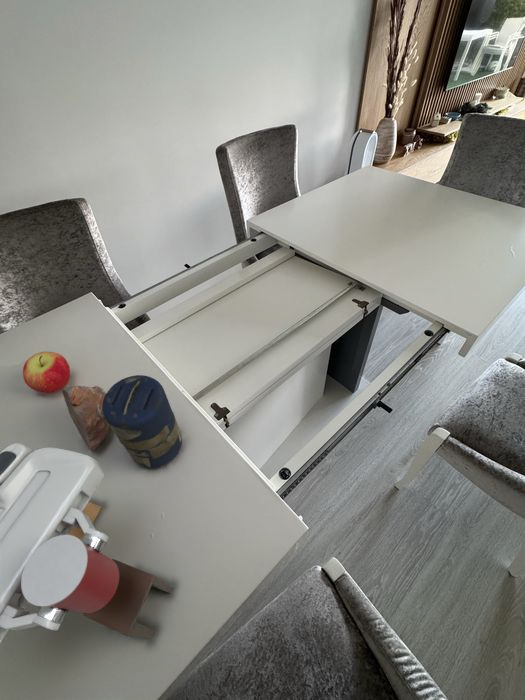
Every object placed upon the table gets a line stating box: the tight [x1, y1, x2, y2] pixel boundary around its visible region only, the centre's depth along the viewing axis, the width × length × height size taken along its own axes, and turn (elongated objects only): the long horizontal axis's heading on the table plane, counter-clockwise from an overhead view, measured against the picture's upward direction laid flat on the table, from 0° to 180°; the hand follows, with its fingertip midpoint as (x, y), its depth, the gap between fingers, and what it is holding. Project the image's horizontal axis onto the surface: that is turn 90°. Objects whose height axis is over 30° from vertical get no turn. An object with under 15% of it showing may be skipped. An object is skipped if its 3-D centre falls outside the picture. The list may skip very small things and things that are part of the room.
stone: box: [62, 385, 110, 452], centre depth 65 cm, size 13×8×10 cm
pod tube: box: [21, 535, 119, 614], centre depth 33 cm, size 5×5×9 cm
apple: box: [22, 350, 71, 394], centre depth 71 cm, size 8×8×10 cm
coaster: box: [68, 501, 103, 540], centre depth 57 cm, size 7×7×1 cm
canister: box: [102, 374, 183, 469], centre depth 58 cm, size 10×10×18 cm
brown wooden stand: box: [82, 558, 173, 639], centre depth 45 cm, size 6×6×11 cm
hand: (83, 579), depth 32 cm, fingers closed on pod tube, 5 cm apart
